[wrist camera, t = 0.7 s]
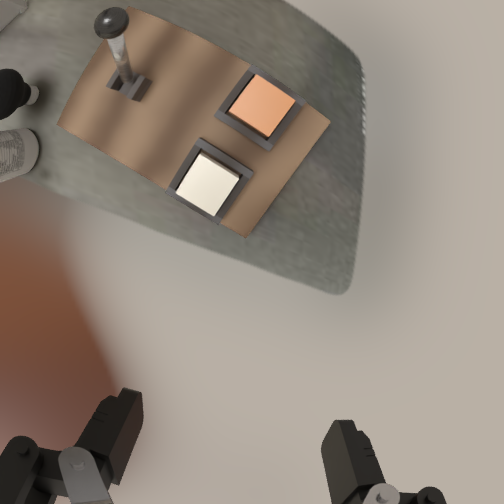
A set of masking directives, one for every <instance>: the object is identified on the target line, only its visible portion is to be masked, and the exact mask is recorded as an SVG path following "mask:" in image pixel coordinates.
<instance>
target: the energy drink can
mask: <svg viewBox="0 0 504 504" xmlns="http://www.w3.org/2000/svg"><path fill="white" fill-rule="evenodd" d="M38 153H39V144H38V140H37V138H36V137H35V135H34V134H33V133H32V132H31V131H30V130H29V129H25V128H22V129H14V130H6V131H0V182H3V181H6V180H9V179H11V178H14V177H17V176H20V175H23V174H25V173H27V172H29V171H30V170H31V169H32V168H33V166H34V164H35V162H36V160H37V158H38Z"/></svg>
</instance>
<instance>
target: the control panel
mask: <svg viewBox="0 0 504 504" xmlns="http://www.w3.org/2000/svg"><path fill="white" fill-rule="evenodd" d="M126 12H127V13H128V15H129V20H130V21H129V25H128V28H127V29H126V31H125V32H124V33H123V34H124V39H125V43H126V48H127V52H128V56H129V60H130V64H131V68H132V72H133V79H132V80H131V81H130V82H129V83H123V82H122V81H121V79H120V76H119V73H118V70H117V68H116V65H115V62H114V59H113V56H112V53H111V50H110V47H109V44H108V41H107V39H104V40H103V42H102V43H101V45H100V46H99V48H98V49H97V51H96V52H95V54H94V56H93V57H92V59H91V60H90V62H89V64H88V65H87V67H86V69H85V70H84V72H83V74H82V75H81V77H80V79H79V81H78V83H77V84H76V86H75V88H74V90H73V92H72V94H71V96H70V98H69V100H68V102H67V104H66V106H65V108H64V110H63V112H62V114H61V116H60V118H59V120H58V123H57V125H58V126H60V127H62V128H63V129H65V130H67V131H68V132H70V133H72V134H74V135H75V136H77V137H79V138H80V139H82V140H84V141H85V142H87V143H89V144H90V145H92V146H94V147H95V148H97V149H99V150H101V151H102V152H104V153H106V154H107V155H109V156H111V157H112V158H114V159H116V160H117V161H119V162H121V163H122V164H124V165H126V166H127V167H129V168H131V169H132V170H134V171H136V172H137V173H139V174H141V175H142V176H144V177H146V178H147V179H149V180H151V181H152V182H154V183H156V184H157V185H159V186H161V187H162V188H164V189H166V191H165V193H166V194H168V195H170V196H171V197H173V198H175V199H176V200H178V201H180V202H181V203H183V204H185V205H186V206H188V207H190V208H191V209H193V210H195V211H196V212H198V213H199V214H201V215H203V216H204V217H206V218H208V219H209V220H211V221H213V222H214V223H216V224H218V225H219V223H222V224H223V225H225V226H226V227H228V228H230V229H231V230H233V231H235V232H236V233H238V234H239V235H241V236H243V237H244V238H247V236H248V235H249V234H250V232H251V231H252V229H253V228H254V227H255V225H256V224H257V222H258V221H259V220H260V218H261V217H262V215H263V214H264V213H265V211H266V210H267V209H268V207H269V206H270V204H271V203H272V202H273V200H274V199H275V197H276V196H277V195H278V193H279V192H280V191H281V189H282V188H283V186H284V185H285V184H286V182H287V181H288V180H289V178H290V177H291V175H292V174H293V173H294V171H295V170H296V169H297V167H298V166H299V164H300V163H301V162H302V160H303V159H304V158H305V156H306V155H307V154H308V152H309V151H310V149H311V148H312V147H313V145H314V144H315V143H316V141H317V140H318V139H319V137H320V136H321V134H322V133H323V132H324V130H325V129H326V128H327V126H328V125H329V124H330V122H331V121H329V120H328V119H327V118H326V117H324V116H323V115H322V114H320V113H319V112H318V111H317V110H315V109H314V108H313V107H311V106H310V105H309V104H307V103H306V100H305V99H303V98H302V97H301V96H299V95H298V94H296V93H295V92H294V91H292V90H291V89H289V88H288V87H286V86H285V85H284V84H282V83H281V82H279V81H278V80H276V79H275V78H273V77H272V76H270V75H269V74H267V73H266V72H264V71H262V70H261V69H259V68H258V67H256V66H254V65H253V64H251V65H250V64H248V63H246V62H245V61H243V60H241V59H240V58H238V57H236V56H234V55H233V54H231V53H229V52H227V51H226V50H224V49H222V48H220V47H218V46H217V45H215V44H213V43H211V42H209V41H207V40H205V39H203V38H201V37H199V36H197V35H195V34H193V33H191V32H189V31H187V30H185V29H183V28H181V27H178V26H176V25H174V24H172V23H170V22H167V21H165V20H163V19H160V18H158V17H155V16H153V15H150V14H148V13H145V12H143V11H140V10H138V9H135V8H132V7H128V8H127V9H126ZM256 74H257V75H259V76H260V77H262V78H263V79H265V80H266V81H268V82H269V83H271V84H272V85H274V86H275V87H277V88H278V89H280V90H281V91H283V92H284V93H286V94H287V95H289V96H290V97H291V98H293V99H294V100H296V101H295V102H294V104H293V105H292V106H291V108H290V109H289V110H288V112H287V113H286V114H285V116H284V117H283V118H282V120H281V121H280V122H279V124H278V125H277V126H276V128H275V129H274V131H273V132H272V133H271V135H270V136H269V137H266V136H264V135H263V134H262V133H260V132H259V131H257V130H256V129H254V128H252V127H251V126H249V125H248V124H246V123H245V122H243V121H242V120H240V119H239V118H237V117H235V116H234V115H232V114H231V113H229V110H230V109H231V107H232V106H233V105H234V103H235V102H236V101H237V99H238V98H239V96H240V95H241V94H242V92H243V91H244V90H245V88H246V87H247V86H248V84H249V83H250V82H251V81H252V79H253V78H254V77H255V75H256ZM201 153H204V154H205V155H207V156H209V157H210V158H212V159H213V160H215V161H217V162H218V163H220V164H221V165H223V166H225V167H226V168H228V169H229V170H231V171H232V172H234V173H236V174H237V175H239V180H238V181H237V183H236V184H235V186H234V187H233V189H232V190H231V192H230V193H229V195H228V196H227V198H226V199H225V201H224V202H223V204H222V205H221V207H220V208H219V210H218V211H217V213H216V214H215V216H212V215H211V214H209V213H207V212H206V211H204V210H202V209H201V208H199V207H197V206H196V205H194V204H193V203H191V202H189V201H188V200H186V199H184V198H183V197H181V196H179V195H178V194H176V191H177V190H178V188H179V186H180V185H181V183H182V181H183V180H184V178H185V176H186V175H187V173H188V172H189V170H190V168H191V167H192V165H193V164H194V162H195V161H196V159H197V157H198V156H199V154H201Z"/></svg>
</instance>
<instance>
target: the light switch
mask: <svg viewBox="0 0 504 504" xmlns="http://www.w3.org/2000/svg"><path fill="white" fill-rule="evenodd" d="M26 9H28V7H27V2H26V1H23V0H0V32H1V31H2V30H3V29H4V28H5V27H6V26H7V25H8V24H9V23H10V22H11V21H12V20H13V19H14V18H15V17H16V16H17V15H18V14H19V13H20V14H22V13H23V12H24V11H25V10H26Z"/></svg>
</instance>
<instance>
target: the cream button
mask: <svg viewBox="0 0 504 504" xmlns="http://www.w3.org/2000/svg"><path fill="white" fill-rule="evenodd" d="M238 180H239V175H237V174H236V173H234V172H232V171H231V170H229V169H228V168H226V167H225V166H223V165H221V164H220V163H218V162H217V161H215V160H213V159H212V158H210V157H209V156H207V155H205V154H204V153H201V154H199V156H198V157H197V159H196V161H195V162H194V164H193V165H192V167H191V168H190V170H189V172H188V173H187V175H186V176H185V178H184V180H183V181H182V183H181V185H180V186H179V188H178V190H177V191H176V194H178V195H179V196H181V197H183V198H184V199H186V200H188V201H189V202H191V203H193V204H194V205H196V206H197V207H199V208H201V209H202V210H204V211H206V212H207V213H209V214H211V215H212V216H215V214H216V213H217V211H218V210H219V208H220V207H221V205H222V204H223V202H224V201H225V199H226V198H227V196H228V195H229V193H230V192H231V190H232V189H233V187H234V186H235V184H236V183H237V181H238Z"/></svg>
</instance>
